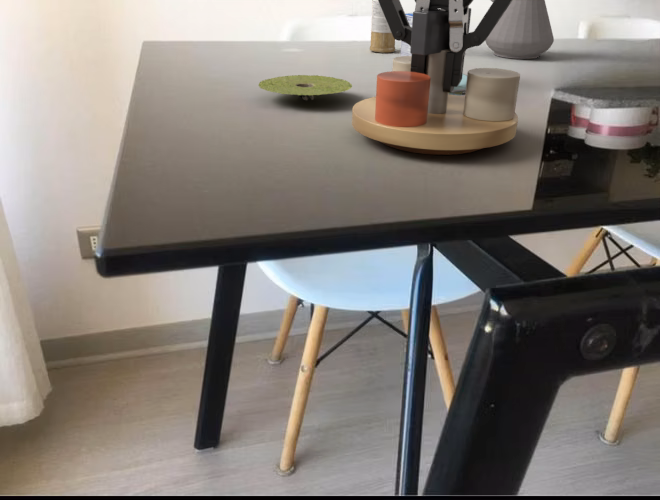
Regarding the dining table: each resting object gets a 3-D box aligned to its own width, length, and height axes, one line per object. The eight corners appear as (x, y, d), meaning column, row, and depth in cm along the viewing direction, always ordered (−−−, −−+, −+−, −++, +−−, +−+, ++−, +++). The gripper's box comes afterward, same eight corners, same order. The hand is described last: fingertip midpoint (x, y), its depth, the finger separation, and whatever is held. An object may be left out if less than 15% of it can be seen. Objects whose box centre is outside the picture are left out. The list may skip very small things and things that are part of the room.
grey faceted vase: (475, 57, 106) (487, -41, 100) (490, 48, 116) (501, -42, 109) (611, 69, 98) (633, -36, 92) (614, 58, 108) (635, -38, 101)
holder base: (501, 133, 65) (502, 123, 64) (467, 162, 56) (468, 151, 56) (402, 118, 69) (403, 109, 69) (357, 142, 61) (357, 132, 60)
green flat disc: (361, 93, 80) (362, 78, 79) (337, 114, 70) (337, 97, 69) (278, 87, 83) (278, 72, 82) (244, 106, 73) (243, 89, 72)
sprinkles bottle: (381, 48, 113) (385, -34, 107) (400, 51, 111) (406, -33, 105) (363, 50, 111) (367, -33, 105) (383, 54, 108) (387, -32, 102)
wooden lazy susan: (417, 99, 72) (424, -2, 68) (546, 127, 62) (566, 11, 58) (318, 124, 62) (319, 7, 57) (454, 162, 52) (469, 25, 47)
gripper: (542, -115, 54) (511, 89, 62) (387, -115, 58) (376, 76, 66) (536, -122, 48) (503, 105, 55) (362, -122, 52) (354, 90, 60)
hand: (434, 88), depth 61 cm, fingers closed on wooden lazy susan, 2 cm apart
